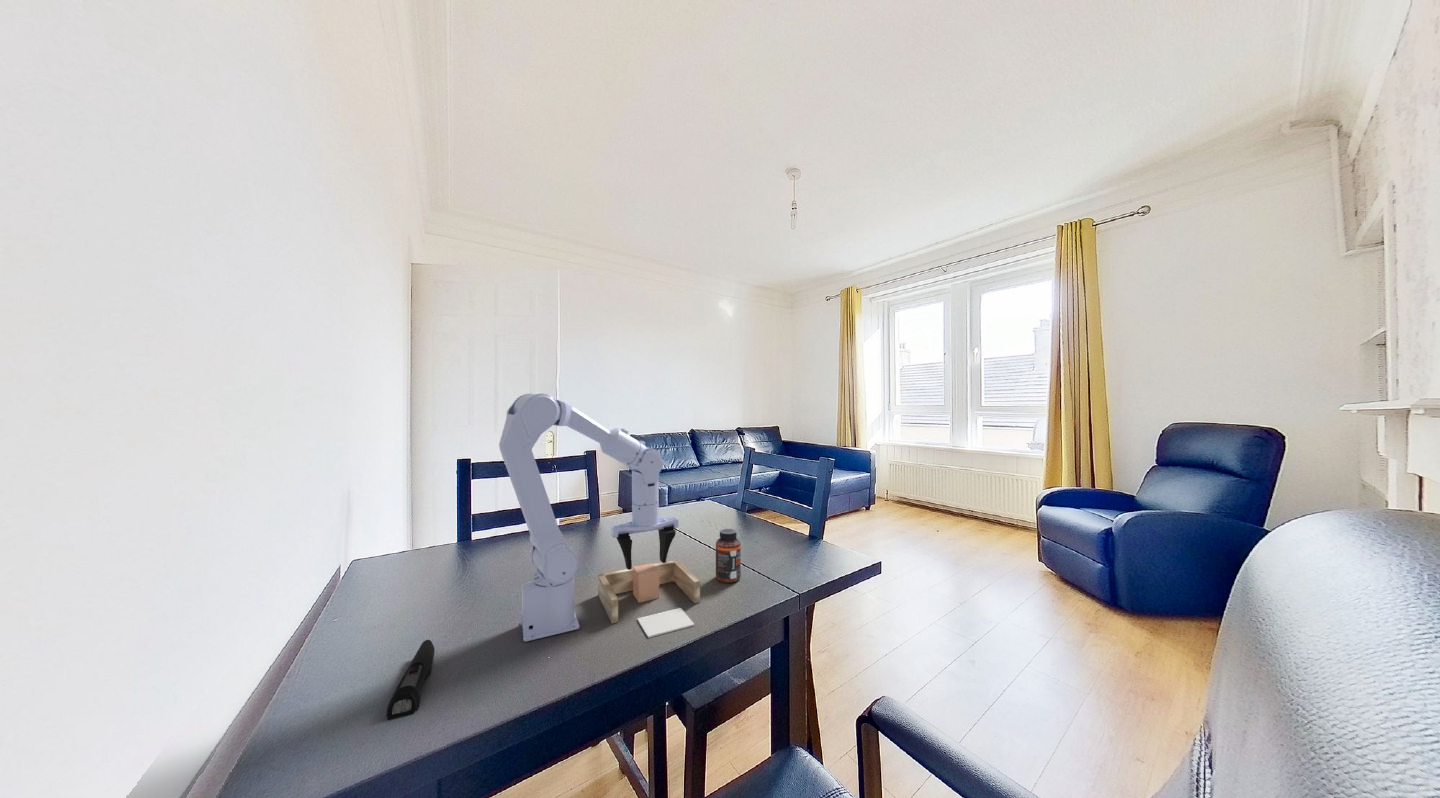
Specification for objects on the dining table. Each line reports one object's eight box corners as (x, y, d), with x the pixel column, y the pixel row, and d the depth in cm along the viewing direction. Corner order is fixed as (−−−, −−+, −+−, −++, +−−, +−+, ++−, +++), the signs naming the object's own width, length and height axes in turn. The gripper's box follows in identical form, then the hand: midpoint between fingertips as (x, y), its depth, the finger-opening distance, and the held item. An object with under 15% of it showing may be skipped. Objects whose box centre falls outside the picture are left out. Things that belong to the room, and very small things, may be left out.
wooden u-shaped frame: (611, 623, 82) (611, 600, 82) (598, 595, 93) (598, 574, 93) (699, 602, 90) (699, 580, 90) (677, 578, 102) (677, 559, 102)
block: (638, 602, 90) (638, 574, 90) (633, 594, 94) (632, 566, 94) (659, 598, 92) (659, 570, 92) (652, 589, 96) (652, 563, 96)
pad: (648, 638, 77) (648, 636, 77) (637, 619, 83) (637, 618, 83) (694, 625, 81) (694, 624, 81) (680, 609, 87) (680, 607, 87)
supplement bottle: (741, 584, 99) (740, 535, 99) (715, 584, 99) (715, 535, 99) (740, 573, 105) (740, 527, 104) (716, 573, 105) (715, 527, 105)
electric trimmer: (441, 654, 73) (440, 635, 73) (417, 715, 59) (417, 692, 59) (414, 659, 72) (414, 640, 72) (384, 723, 57) (383, 699, 57)
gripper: (670, 494, 100) (671, 552, 100) (607, 502, 93) (608, 564, 93) (681, 501, 93) (682, 563, 94) (615, 509, 87) (616, 576, 87)
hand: (646, 564), depth 93 cm, fingers open, 7 cm apart
